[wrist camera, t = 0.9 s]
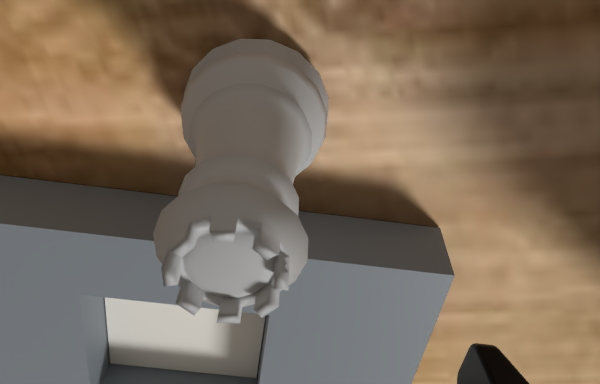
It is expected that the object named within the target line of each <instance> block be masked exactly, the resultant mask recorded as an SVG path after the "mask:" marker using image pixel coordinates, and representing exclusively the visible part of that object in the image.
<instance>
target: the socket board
mask: <svg viewBox="0 0 600 384" xmlns="http://www.w3.org/2000/svg"><path fill="white" fill-rule="evenodd" d="M177 197H178V196H170V195H161V194H153V193H145V192H136V191H128V190H120V189H111V188H103V187H95V186H86V185H78V184H70V183H61V182H53V181H45V180H36V179H28V178H20V177H11V176H3V175H0V384H411V383H412V381H413V378H414V376H415V373H416V371H417V368H418V366H419V363H420V361H421V358H422V356H423V353H424V351H425V348H426V346H427V343H428V341H429V338H430V336H431V333H432V331H433V328H434V326H435V323H436V321H437V318H438V316H439V313H440V311H441V308H442V306H443V303H444V301H445V298H446V296H447V293H448V291H449V288H450V286H451V283H452V281H453V278H454V272H453V269H452V266H451V263H450V259H449V256H448V253H447V249H446V246H445V243H444V240H443V236H442V233H441V230H440V228H437V227H428V226H420V225H412V224H403V223H395V222H387V221H378V220H370V219H362V218H353V217H345V216H337V215H328V214H320V213H312V212H303V211H299V213H298V217H299V219H300V221H301V224H302V226H303V228H304V230H305V232H306V234H307V236H308V259H307V263H306V264H305V266H304V268H303V269H302V271H301V273H300V274H299V276H298V278H297V279H296V281H295V282H294V283H292V284H291V285H289V290H288V291H287V290H282V291H280V296H279V307H277V308H276V309H274V310H273V311H271V312H270V313H268V314H267V315H266V322H265V316H264V317H262V318H261V316H260V315H259V314H258V313H257V312H256V311H255V310H254V304H253V305H249V306H245V307H242V314H241V321H240V323H217V318H218V312H219V306H216V305H213V304H210V303H207V302H204V301H202V305H201V308H200V309H199V311H198V312H197V313H196V314H195V315H192V314H191V313H189V312H188V311H186V310H185V309H183V308H182V307H180V306H179V305H177V304H176V300H177V296H178V292H179V289H180V287H179V286H178V285H174V286H165V287H164V285H163V278H162V272H161V267H162V264H161V262H160V261H159V259H158V258H157V256H156V250H155V243H154V237H153V232H154V229H155V226H156V224H157V221H158V219H159V216H160V213H161V211H162V210H163V209H164V208H165V207H166V206H167V205H168V204H170V203H171V202H172V201H173V200H174V199H175V198H177ZM264 322H265V328H264ZM263 329H264V335H263ZM262 336H263V342H262ZM261 343H262V349H261ZM260 350H261V355H260ZM259 356H260V362H259ZM258 363H259V369H258ZM257 370H258V373H257Z"/></svg>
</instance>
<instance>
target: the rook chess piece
mask: <svg viewBox="0 0 600 384" xmlns="http://www.w3.org/2000/svg"><path fill="white" fill-rule="evenodd" d="M328 101H329V98H328V95H327V93H326V90H325V87H324V85H323V82H322V79H321V77H320V74H319V72H318V71H317V70H316V69H315V68H314V67H313V66H312V65H311V64H310V63H309V62H308V61H307V60H306V59H305V58H304V57H303V56H302V55H301V54H300V53H299V52H298V51H295V50H293V49H291V48H289V47H286V46H284V45H282V44H279V43H277V42H275V41H273V40H268V39H237V40H235V41H232V42H230V43H227V44H224V45H222V46H219V47H216V48H214V49H212V50H211V51H210V52H209V53H208V54H207V55H206V56H205V57H204V58H203V59H202V60H201V61H200V62H199V63H198V64H197V65H196V66H195V67H194V68H193V69H192V72H191V75H190V77H189V80H188V83H187V86H186V89H185V91H184V98H183V101H182V104H181V117H182V126H183V135H184V139H185V141H186V143H187V144H188V146H189V148H190V150H191V151H192V153H193V155H194V157H195V158H196V159H195V167H194V168H193V169H192V170H191V171H190V172H189V173H188V174H186V175H185V178H184V180H183V183H182V185H181V188H180V190H179V193H178V197H177V198H175V199H174V200H173V201H172V202H171V203H170V204H168V205H167V206H166V207H165V208H164V209H163V210H162V211H161V213H160V216H159V219H158V221H157V224H156V226H155V229H154V232H153V237H154V243H155V250H156V256H157V258H158V259H159V261H160V262H161V264H162V267H161V272H162V278H163V285H164V287H165V286H174V285H178V286H179V287H180V289H179V292H178V296H177V300H176V304H177V305H179V306H180V307H182V308H183V309H185V310H186V311H188V312H189V313H191V314H192V315H195V314H196V313H197V312H198V311H199V309H200V308H201V305H202V301H204V302H207V303H210V304H213V305H216V306H219V312H218V318H217V323H240V321H241V314H242V307H245V306H249V305H253V304H254V310H255V311H256V312H257V313H258V314H259V315H260V316H261V318H262V317H264V316H265V315H267V314H268V313H270V312H271V311H273V310H274V309H276V308H277V307H279V296H280V291H282V290H287V291H288V290H289V285H291V284H292V283H294V282H295V281H296V279H297V278H298V276H299V274H300V273H301V271H302V269H303V268H304V266H305V264H306V263H307V259H308V236H307V234H306V232H305V230H304V228H303V226H302V224H301V221H300V219H299V217H298V213H299V197H298V194H297V192H296V190H295V188H294V186H293V183H294V179H295V176H297V175H298V174H299V173H300V172H302V171H303V170H304V169H305V168H307V167H308V166H309V165H310V164H311V163H312V161H313V159H314V157H315V156H316V154H317V152H318V150H319V148H320V146H321V145H322V143H323V141H324V139H325V137H326V125H327V117H328Z"/></svg>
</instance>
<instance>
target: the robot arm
mask: <svg viewBox="0 0 600 384" xmlns="http://www.w3.org/2000/svg"><path fill="white" fill-rule="evenodd" d="M457 384H529V383H528V382H527V381H526V379H525V378H524V377H523V376H522V375H521V374H520V373H519V372H518V370H517V369H516V368H515V367H514V366H513V365H512V364H511V362H510V361H509V360H508V359H507V358H506V357H505V356H504V354H503V353H502V352H501V351H500V350H499V349H498V348H497V347H495V346H493V345H487V344H478V343H475V344H473V345H471V346H470V348H469V350H468V352H467V354H466V356H465V359H464V361H463V363H462V365H461V367H460V369H459V372H458V377H457Z"/></svg>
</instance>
